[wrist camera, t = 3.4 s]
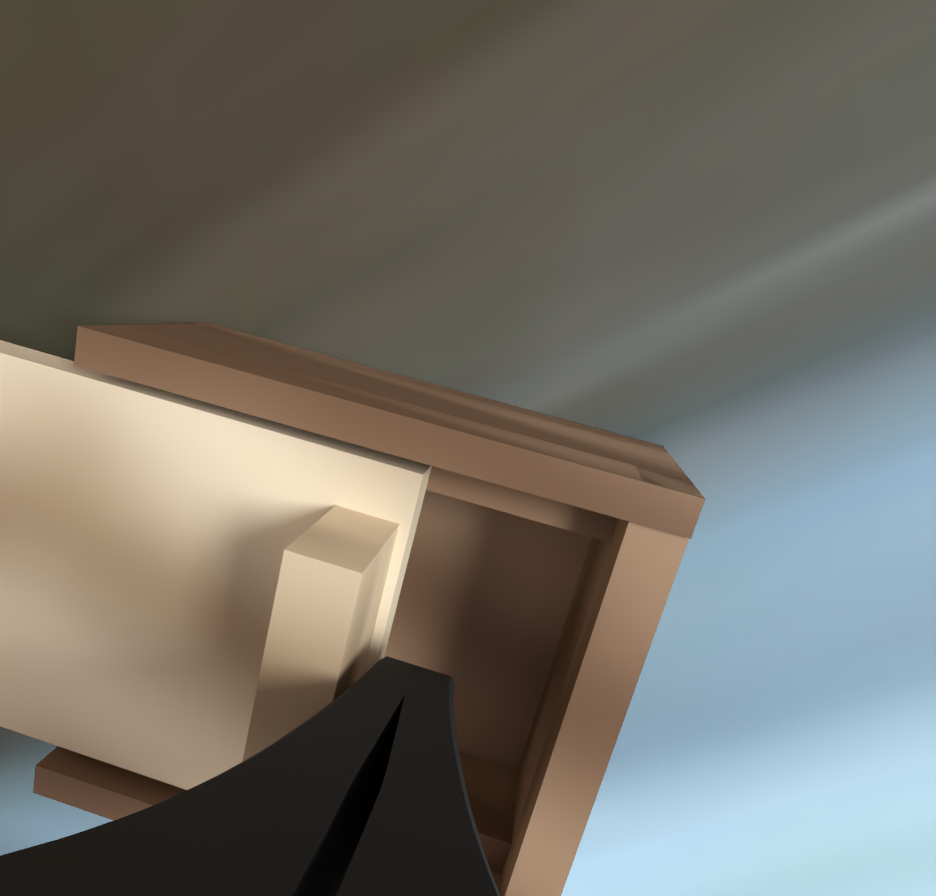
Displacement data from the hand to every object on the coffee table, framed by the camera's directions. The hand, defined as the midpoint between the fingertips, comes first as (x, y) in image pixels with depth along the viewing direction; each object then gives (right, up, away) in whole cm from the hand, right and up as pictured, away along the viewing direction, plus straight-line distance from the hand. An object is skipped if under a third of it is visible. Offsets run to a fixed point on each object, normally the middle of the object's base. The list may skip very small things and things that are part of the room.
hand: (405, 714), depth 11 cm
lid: (-5, +2, +2) cm, 6 cm away
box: (-1, +1, +5) cm, 5 cm away
